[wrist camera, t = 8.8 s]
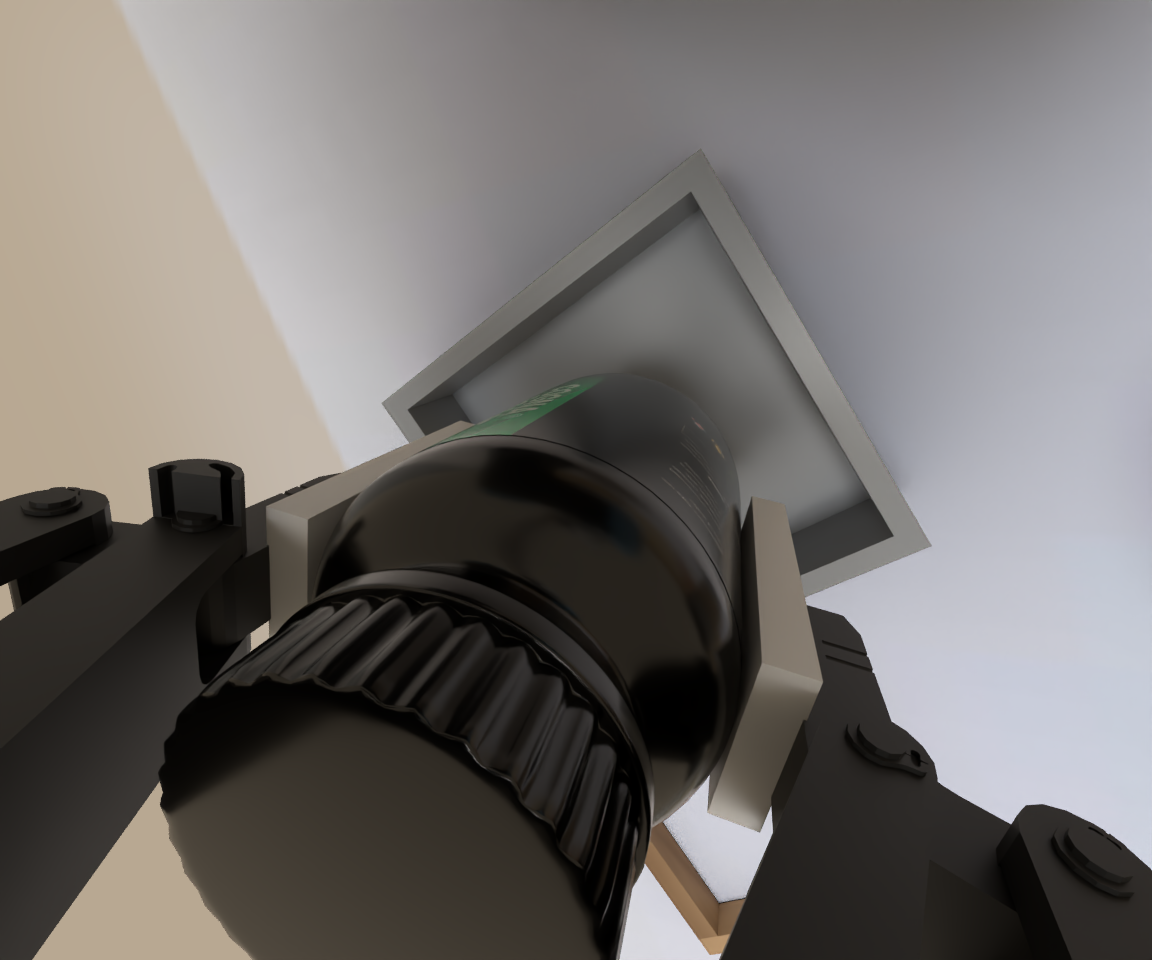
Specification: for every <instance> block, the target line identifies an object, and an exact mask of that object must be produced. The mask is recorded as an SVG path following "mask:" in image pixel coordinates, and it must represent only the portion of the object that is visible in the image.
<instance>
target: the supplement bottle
mask: <svg viewBox="0 0 1152 960" xmlns="http://www.w3.org/2000/svg"><path fill="white" fill-rule="evenodd" d="M741 672H742V590H741V499H740V487H739V479H738V474H737V470H736V466H735V462H734V460H733V457H732V454H731V451H730V449H729V447H728V445H727V443H726V441H725V439H724V437H723V436H722V434H721V432H720V431H719V429H718V428H717V426H716V425H715V424H714V422H713V421H712V420H711V419H710V417H709V416H708V415H707V414H706V413H705V412H704V411H703V410H702V409H701V408H700V407H699V406H698V405H696V404H695V403H694V402H693V401H692V400H690V399H689V398H688V397H686V396H685V395H683V394H682V393H680V392H678V391H677V390H675V389H673V388H672V387H670V386H667V385H665V384H663V383H661V382H658V381H655V380H652V379H649V378H646V377H642V376H637V375H631V374H623V373H604V374H595V375H589V376H584V377H580V378H577V379H573V380H570V381H568V382H566V383H563V384H561V385H558V386H556V387H553V388H551V389H549V390H547V391H544V392H542V393H540V394H538V395H536V396H534V397H532V398H530V399H528V400H526V401H524V402H521V403H519V404H517V405H515V406H513V407H511V408H509V409H507V410H505V411H503V412H501V413H499V414H496V415H494V416H492V417H490V418H488V419H486V420H484V421H482V422H480V423H478V424H476V425H473V426H471V427H469V428H467V429H465V430H463V431H461V432H459V433H457V434H455V435H453V436H450V437H448V438H446V439H444V440H442V441H440V442H438V443H436V444H434V445H432V446H430V447H428V448H426V449H424V450H422V451H420V452H418V453H416V454H414V455H412V456H411V457H409V458H407V459H405V460H404V461H402V462H400V463H399V464H397V465H395V466H394V467H392V468H390V469H389V470H388V471H386V472H385V473H383V474H382V475H381V476H379V477H378V478H376V479H375V480H374V481H373V482H372V483H371V484H369V485H368V486H367V487H366V488H365V489H364V490H363V491H362V492H361V493H360V494H359V495H358V496H357V497H356V499H355V500H354V501H353V502H352V503H351V505H350V506H349V507H348V508H347V509H346V511H345V512H344V514H343V515H342V517H341V518H340V520H339V522H338V523H337V525H336V526H335V528H334V530H333V532H332V534H331V536H330V538H329V540H328V542H327V544H326V547H325V549H324V552H323V555H322V558H321V560H320V563H319V566H318V570H317V574H316V578H315V582H314V587H313V593H312V601H311V602H310V603H308V604H307V605H305V606H304V607H303V608H301V609H300V610H299V611H297V612H296V613H295V614H294V615H292V616H291V617H290V618H289V619H288V620H287V621H286V622H285V623H284V624H283V625H282V626H281V627H280V629H279V630H278V631H277V633H276V634H275V635H273V636H272V637H270V638H269V639H268V640H266V641H265V642H263V643H262V644H261V645H259V646H258V647H257V648H255V649H254V650H252V651H251V652H250V653H248V654H247V655H245V656H244V657H243V658H241V659H240V660H239V661H237V662H236V663H234V664H233V665H232V666H230V667H229V668H228V669H226V670H225V671H224V672H222V673H221V674H220V675H218V676H217V677H216V678H215V679H213V680H212V681H211V682H210V683H209V684H208V685H207V686H206V687H205V688H204V689H203V690H202V691H201V693H200V694H199V695H198V696H197V697H196V698H195V699H193V700H192V701H191V702H190V703H189V704H188V705H187V706H186V707H185V708H184V709H183V710H182V711H181V712H180V713H179V714H178V716H177V719H176V725H175V730H174V731H173V732H172V734H171V735H170V736H169V737H168V738H167V739H166V740H165V741H164V758H165V763H164V764H163V765H162V766H161V768H160V769H159V771H158V776H159V780H160V783H161V787H162V791H163V794H162V797H161V802H160V806H161V809H162V811H163V813H164V815H165V817H166V820H167V822H168V824H169V839H170V841H171V842H172V844H173V845H174V847H175V849H176V851H177V852H178V854H179V856H180V857H181V861H182V864H183V868H184V872H185V874H186V875H187V876H188V878H189V879H190V881H191V882H192V883H193V884H194V886H195V887H196V888H197V889H198V891H199V893H200V896H201V898H202V900H203V902H204V905H205V906H206V907H207V909H208V910H209V911H210V912H211V913H212V914H213V915H214V916H215V917H216V918H217V919H218V920H219V921H220V922H221V924H222V926H223V928H224V929H225V931H226V932H227V934H228V935H229V937H230V938H231V939H232V940H233V941H234V942H235V943H237V944H238V945H239V946H240V947H241V948H242V949H243V950H245V951H246V952H247V953H248V955H249V956H250V957H251V959H252V960H619V958H620V953H621V947H622V942H623V936H624V931H625V925H626V920H627V914H628V909H629V903H630V898H631V892H632V888H633V886H634V885H635V883H636V881H637V880H638V878H639V876H640V874H641V873H642V870H643V868H644V864H645V860H646V857H647V852H648V848H649V843H650V837H651V829H652V828H653V827H655V826H656V825H658V824H659V823H661V822H662V821H664V820H666V819H667V818H669V817H670V816H671V815H672V814H673V813H674V812H676V811H677V810H678V809H679V808H680V807H681V806H683V805H684V804H685V803H686V802H687V801H688V800H689V799H690V798H691V797H692V796H693V794H694V793H695V792H696V791H697V790H698V789H699V788H700V787H701V786H702V784H703V783H704V782H705V780H706V779H707V777H708V776H709V775H710V773H711V772H712V770H713V769H714V767H715V766H716V765H717V763H718V761H719V759H720V757H721V755H722V753H723V751H724V749H725V747H726V745H727V742H728V739H729V737H730V734H731V731H732V728H733V726H734V722H735V717H736V713H737V708H738V702H739V692H740V682H741Z"/></svg>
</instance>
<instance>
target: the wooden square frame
mask: <svg viewBox="0 0 1152 960" xmlns="http://www.w3.org/2000/svg"><path fill="white" fill-rule="evenodd" d="M645 864H646V866H647V867H648V868H649V870H650V871H651V873H652V874H653V875H654V877H655V878H656V880H657V881H658V882H659V884H660V885H661V887H662V888H663V889H664V891H665V892H666V894H667V895H668V897H669V898H670V899H671V901H672V902H673V904H674V905H675V906H676V908H677V909H678V911H679V912H680V913H681V915H682V916H683V918H684V919H685V920H686V922H687V923H688V925H689V926H690V928H691V929H692V930H693V932H694V933H695V935H696V936H697V937H698V939H699V940H700V942H701V943H702V944H703V946H704V947H705V949H706V950H707V951H708V953H709V954H710V955H713V954H719V953H722V952H723V949H724V947H725V945H726V942H727V940H728V938H729V935H730V933H731V931H732V928H733V926H734V924H735V921H736V919H737V916H738V914H739V912H740V909H741V907H742V905H743V902H744V900H745V899H742V900H736V901H731V902H726V903H720V904H719V903H718V902H717V900H716V899H715V897H714V896H713V894H712V893H711V892H710V890H709V889H708V887H707V886H706V884H705V883H704V881H703V880H702V879H701V877H700V876H699V874H698V873H697V871H696V870H695V869H694V867H693V866H692V864H691V863H690V861H689V860H688V859H687V857H686V856H685V854H684V853H683V851H682V850H681V849H680V847H679V846H678V844H677V843H676V841H675V840H674V838H673V837H672V836H671V834H670V833H669V831H668V830H667V828H666V827H665V826H664V824H663V823H662V822H661V823H659V824H658V825H656V826H655V827H653V828H652V829H651V837H650V843H649V848H648V852H647V857H646V860H645Z"/></svg>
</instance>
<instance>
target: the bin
mask: <svg viewBox="0 0 1152 960" xmlns="http://www.w3.org/2000/svg"><path fill="white" fill-rule="evenodd" d="M604 373H623V374H631V375H637V376H642V377H646V378H649V379H652V380H655V381H658V382H661V383H663V384H665V385H667V386H670V387H672V388H673V389H675V390H677V391H678V392H680V393H682V394H683V395H685V396H686V397H688V398H689V399H690V400H692V401H693V402H694V403H695V404H696V405H698V406H699V407H700V408H701V409H702V410H703V411H704V412H705V413H706V414H707V415H708V416H709V417H710V419H711V420H712V421H713V422H714V424H715V425H716V426H717V428H718V429H719V431H720V432H721V434H722V436H723V437H724V439H725V441H726V443H727V445H728V447H729V449H730V451H731V454H732V457H733V460H734V462H735V466H736V470H737V474H738V479H739V487H740V499H741V529H742V526H743V523H744V520H745V517H746V513H747V510H748V507H749V504H750V501H751V498H752V496H754V497H758V498H762V499H766V500H770V501H774V502H778V503H781V504H785V508H786V513H787V517H788V522H789V527H790V531H791V536H792V540H793V545H794V550H795V554H796V559H797V564H798V568H799V573H800V577H801V582H802V587H803V591H804V596H805V597H807V596H809V595H812V594H814V593H817V592H819V591H822V590H824V589H826V588H829V587H831V586H834V585H836V584H839V583H841V582H844V581H846V580H849V579H851V578H854V577H856V576H859V575H861V574H864V573H866V572H868V571H871V570H873V569H876V568H878V567H881V566H883V565H886V564H888V563H891V562H893V561H896V560H898V559H901V558H903V557H906V556H908V555H910V554H913V553H915V552H918V551H920V550H923V549H925V548H928V547H930V546H931V544H930V542H929V540H928V539H927V537H926V535H925V534H924V532H923V530H922V528H921V527H920V525H919V523H918V522H917V520H916V518H915V516H914V515H913V513H912V511H911V509H910V508H909V506H908V504H907V503H906V501H905V499H904V497H903V496H902V494H901V492H900V491H899V489H898V487H897V485H896V484H895V482H894V480H893V479H892V477H891V475H890V473H889V472H888V470H887V468H886V466H885V465H884V463H883V461H882V460H881V458H880V456H879V454H878V453H877V451H876V449H875V448H874V446H873V444H872V442H871V441H870V439H869V437H868V436H867V434H866V432H865V430H864V429H863V427H862V425H861V423H860V422H859V420H858V418H857V417H856V415H855V413H854V411H853V410H852V408H851V406H850V405H849V403H848V401H847V399H846V398H845V396H844V394H843V392H842V391H841V389H840V387H839V386H838V384H837V382H836V380H835V379H834V377H833V375H832V374H831V372H830V370H829V368H828V367H827V365H826V363H825V362H824V360H823V358H822V356H821V355H820V353H819V351H818V349H817V348H816V346H815V344H814V343H813V341H812V339H811V337H810V336H809V334H808V332H807V331H806V329H805V327H804V325H803V324H802V322H801V320H800V318H799V317H798V315H797V313H796V312H795V310H794V308H793V306H792V305H791V303H790V301H789V300H788V298H787V296H786V294H785V293H784V291H783V289H782V288H781V286H780V284H779V282H778V281H777V279H776V277H775V275H774V274H773V272H772V270H771V269H770V267H769V265H768V263H767V262H766V260H765V258H764V257H763V255H762V253H761V251H760V250H759V248H758V246H757V244H756V243H755V241H754V239H753V238H752V236H751V234H750V232H749V231H748V229H747V227H746V226H745V224H744V222H743V220H742V219H741V217H740V215H739V214H738V212H737V210H736V208H735V207H734V205H733V203H732V201H731V200H730V198H729V196H728V195H727V193H726V191H725V189H724V188H723V186H722V184H721V183H720V181H719V179H718V177H717V176H716V174H715V172H714V170H713V169H712V167H711V165H710V164H709V162H708V160H707V158H706V157H705V155H704V153H703V152H702V150H701V149H699V150H698V151H697V152H696V153H694V154H693V155H692V156H691V157H689V158H688V159H687V160H686V161H684V162H683V163H682V164H681V165H679V166H678V167H677V168H676V169H674V170H673V171H672V172H671V173H669V174H668V175H667V176H666V177H664V178H663V179H662V180H661V181H659V182H658V183H657V184H656V185H654V186H653V187H652V188H650V189H649V190H648V191H647V192H645V193H644V194H643V195H642V196H640V197H639V198H638V199H637V200H635V201H634V202H633V203H632V204H630V205H629V206H628V207H627V208H625V209H624V210H623V211H622V212H620V213H619V214H618V215H617V216H615V217H614V218H613V219H612V220H610V221H609V222H608V223H607V224H605V225H604V226H603V227H602V228H600V229H599V230H598V231H597V232H595V233H594V234H593V235H592V236H590V237H589V238H588V239H587V240H585V241H584V242H583V243H582V244H580V245H579V246H578V247H577V248H575V249H574V250H573V251H572V252H570V253H569V254H568V255H567V256H565V257H564V258H563V259H562V260H560V261H559V262H558V263H557V264H555V265H554V266H553V267H552V268H550V269H549V270H548V271H547V272H545V273H544V274H543V275H542V276H540V277H539V278H538V279H537V280H535V281H534V282H533V283H532V284H530V285H529V286H528V287H527V288H525V289H524V290H523V291H521V292H520V293H519V294H518V295H516V296H515V297H514V298H513V299H511V300H510V301H509V302H508V303H506V304H505V305H504V306H503V307H501V308H500V309H499V310H498V311H496V312H495V313H494V314H493V315H491V316H490V317H489V318H488V319H486V320H485V321H484V322H483V323H481V324H480V325H479V326H478V327H476V328H475V329H474V330H473V331H471V332H470V333H469V334H468V335H466V336H465V337H464V338H463V339H461V340H460V341H459V342H458V343H456V344H455V345H454V346H453V347H451V348H450V349H449V350H448V351H446V352H445V353H444V354H443V355H441V356H440V357H439V358H438V359H436V360H435V361H434V362H433V363H431V364H430V365H429V366H428V367H426V368H425V369H424V370H423V371H421V372H420V373H419V374H418V375H416V376H415V377H414V378H413V379H411V380H410V381H409V382H408V383H406V384H405V385H404V386H403V387H401V388H400V389H399V390H398V391H396V392H395V393H394V394H392V395H391V396H390V397H389V398H387V399H386V400H385V401H384V402H382V404H383V406H384V407H385V409H386V410H387V412H388V413H389V414H390V416H391V417H392V419H393V420H394V422H395V423H396V425H397V426H398V427H399V429H400V430H401V432H402V433H403V435H404V436H405V437H406V439H407V440H408V442H409V443H411V442H413V441H415V440H418V439H420V438H422V437H424V436H427V435H429V434H431V433H433V432H436V431H438V430H440V429H443V428H445V427H447V426H449V425H452V424H454V423H456V422H458V421H464V422H468V423H471V424H475V425H476V424H478V423H480V422H482V421H484V420H486V419H488V418H490V417H492V416H494V415H496V414H499V413H501V412H503V411H505V410H507V409H509V408H511V407H513V406H515V405H517V404H519V403H521V402H524V401H526V400H528V399H530V398H532V397H534V396H536V395H538V394H540V393H542V392H544V391H547V390H549V389H551V388H553V387H556V386H558V385H561V384H563V383H566V382H568V381H570V380H573V379H577V378H580V377H584V376H589V375H595V374H604Z"/></svg>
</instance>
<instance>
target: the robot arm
mask: <svg viewBox="0 0 1152 960" xmlns="http://www.w3.org/2000/svg"><path fill="white" fill-rule="evenodd" d="M473 425H475V424H471V423H468V422H464V421H458V422H456V423H454V424H452V425H449V426H447V427H445V428H443V429H440V430H438V431H436V432H433V433H431V434H429V435H427V436H424V437H422V438H420V439H418V440H415V441H413V442H411V443H409V444H406V445H404V446H402V447H399V448H397V449H395V450H393V451H390V452H388V453H386V454H384V455H381V456H379V457H377V458H375V459H372V460H370V461H368V462H365V463H363V464H361V465H359V466H356V467H354V468H352V469H350V470H347V471H345V472H343V473H338V474H333V475H327V476H322V477H318V478H316V479H313V480H311V481H309V482H306V483H304V484H302V485H300V487H295V488H292V489H290V490H288V491H285V493H284V494H282V493H281V494H278V495H276V496H274V497H271V498H269V499H266V500H264V501H262V502H259V503H257V504H255V505H252V506H250V507H248V508H245V487H244V473H243V471H242V469H241V468H240V467H238V466H236V465H234V464H232V463H228V462H224V461H219V460H210V459H187V460H177V461H171V462H166V463H161V464H159V465H156V466H153V467H151V468H149V479H150V488H151V498H152V507H153V517H152V518H151V519H149V520H148V521H147V522H145V523H143V524H142V525H139V524H130V523H120V522H113V521H112V520H111V512H110V505H109V501H108V499H107V497H106V496H105V495H103V494H101V493H98V492H96V491H92V490H84V489H80V488H76V487H75V488H74V487H68V488H67V489H66V488H65V487H55V488H51V489H49V490H43V491H36V492H32V493H28V494H24V495H19V496H16V497H13V498H9V499H6V500H3V501H0V586H2V585H4V584H6V583H8V585H9V589H10V594H11V599H12V603H13V607H14V612H12V613H11V614H9V615H8V616H6V617H5V618H3V619H2V620H1V621H0V960H32V959H33V958H34V956H35V955H36V953H37V952H38V951H39V949H40V948H41V946H42V945H43V944H44V942H45V941H46V939H47V938H48V937H49V935H50V934H51V932H52V931H53V930H54V928H55V927H56V925H57V924H58V923H59V921H60V920H61V918H62V917H63V916H64V914H65V913H66V911H67V910H68V909H69V907H70V906H71V905H72V903H73V902H74V900H75V899H76V898H77V896H78V895H79V893H80V892H81V891H82V889H83V888H84V886H85V885H86V884H87V882H88V881H89V879H90V878H91V877H92V875H93V874H94V872H95V871H96V869H97V868H98V867H99V865H100V864H101V862H102V861H103V860H104V858H105V857H106V856H107V854H108V853H109V851H110V850H111V849H112V847H113V845H114V844H115V843H116V842H117V840H118V839H119V837H120V836H121V835H122V833H123V832H124V830H125V829H126V828H127V826H128V825H129V823H130V822H131V821H132V819H133V818H134V816H135V815H136V814H137V812H138V811H139V809H140V808H141V807H142V805H143V804H144V802H145V801H146V800H147V798H148V797H149V795H150V794H151V793H152V791H153V790H154V788H155V787H156V786H157V784H158V783H159V781H160V780H159V776H158V771H159V769H160V768H161V766H162V765H163V764H164V763H165V758H164V741H165V740H166V739H167V738H168V737H169V736H170V735H171V734H172V732H173V731H174V730H175V725H176V719H177V716H178V714H179V713H180V712H181V711H182V710H183V709H184V708H185V707H186V706H187V705H188V704H189V703H190V702H191V701H192V700H193V699H195V698H196V697H197V696H198V695H199V694H200V693H201V691H202V690H203V689H204V688H205V687H206V686H207V685H208V684H209V683H210V682H211V681H212V680H213V679H215V678H216V677H217V676H218V675H220V674H221V673H222V672H224V671H225V670H226V669H228V668H229V667H230V666H232V665H233V664H234V663H236V662H237V661H239V660H240V659H241V658H243V657H244V656H245V655H247V654H248V653H250V650H251V636H250V635H251V634H250V633H251V632H253V631H254V630H256V629H257V628H259V627H260V626H261V625H263V624H264V623H266V622H267V621H269V638H270V637H272V636H273V635H275V634H276V633H277V631H278V630H279V629H280V627H281V626H282V625H283V624H284V623H285V622H286V621H287V620H288V619H289V618H290V617H291V616H292V615H294V614H295V613H296V612H297V611H299V610H300V609H301V608H303V607H304V606H305V605H307V604H308V603H310V602H311V601H312V593H313V587H314V582H315V578H316V574H317V570H318V566H319V563H320V560H321V558H322V555H323V552H324V549H325V547H326V544H327V542H328V540H329V538H330V536H331V534H332V532H333V530H334V528H335V526H336V525H337V523H338V522H339V520H340V518H341V517H342V515H343V514H344V512H345V511H346V509H347V508H348V507H349V506H350V505H351V503H352V502H353V501H354V500H355V499H356V497H357V496H358V495H359V494H360V493H361V492H362V491H363V490H364V489H365V488H366V487H367V486H368V485H369V484H371V483H372V482H373V481H374V480H375V479H376V478H378V477H379V476H381V475H382V474H383V473H385V472H386V471H388V470H389V469H390V468H392V467H394V466H395V465H397V464H399V463H400V462H402V461H404V460H405V459H407V458H409V457H411V456H412V455H414V454H416V453H418V452H420V451H422V450H424V449H426V448H428V447H430V446H432V445H434V444H436V443H438V442H440V441H442V440H444V439H446V438H448V437H450V436H453V435H455V434H457V433H459V432H461V431H463V430H465V429H467V428H469V427H471V426H473ZM741 590H742V672H741V682H740V692H739V702H738V708H737V713H736V717H735V722H734V726H733V728H732V731H731V734H730V737H729V739H728V742H727V745H726V747H725V749H724V751H723V753H722V755H721V757H720V759H719V761H718V763H717V765H716V766H715V767H714V769H713V770H712V772H711V773H710V780H709V796H708V811H707V813H709V814H712V815H715V816H717V817H720V818H723V819H725V820H728V821H731V822H733V823H736V824H739V825H741V826H744V827H747V828H749V829H752V830H755V831H757V832H760V831H761V829H762V826H763V824H764V822H765V819H766V817H767V814H768V812H769V810H770V807H771V806H772V822H773V834H772V837H771V839H770V841H769V844H768V846H767V848H766V851H765V853H764V855H763V858H762V860H761V862H760V864H759V867H758V869H757V871H756V874H755V876H754V878H753V881H752V883H751V885H750V888H749V890H748V893H747V895H746V898H745V900H744V902H743V905H742V907H741V909H740V912H739V914H738V916H737V919H736V921H735V924H734V926H733V928H732V931H731V933H730V935H729V938H728V940H727V942H726V945H725V947H724V949H723V952H722V954H721V957H720V959H719V960H1152V870H1151V869H1150V868H1149V867H1148V866H1147V865H1146V864H1145V863H1143V862H1142V861H1141V860H1140V859H1139V858H1138V857H1137V856H1136V855H1135V854H1133V853H1132V852H1131V851H1130V850H1129V849H1128V848H1127V847H1126V846H1125V845H1124V844H1123V843H1121V842H1120V841H1119V840H1117V839H1116V838H1115V837H1113V836H1112V835H1111V834H1107V833H1106V831H1104V830H1103V829H1101V828H1099V827H1098V826H1096V825H1094V824H1093V823H1091V822H1088V821H1086V820H1084V819H1082V818H1080V817H1078V816H1076V815H1074V814H1072V813H1070V812H1068V811H1065V810H1062V809H1058V808H1054V807H1051V806H1047V805H1044V804H1039V805H1026V806H1025V807H1024V808H1023V809H1022V810H1021V811H1020V813H1019V814H1018V815H1017V816H1016V818H1015V820H1014V821H1013V823H1012V824H1009V823H1007V822H1005V821H1004V820H1002V819H1000V818H998V817H996V816H995V815H993V814H991V813H989V812H987V811H985V810H984V809H982V808H980V807H978V806H976V805H974V804H973V803H971V802H969V801H967V800H965V799H964V798H962V797H960V796H958V795H957V794H955V793H954V792H952V791H950V790H949V789H947V788H946V787H944V786H942V785H941V784H940V783H938V782H937V779H938V778H937V774H936V769H935V765H934V762H933V761H932V759H931V758H930V756H929V755H928V753H927V752H926V750H925V749H924V748H923V746H922V745H921V744H920V743H919V742H917V741H916V740H915V739H914V738H913V737H912V736H911V735H910V734H909V733H908V732H907V731H905V730H904V729H902V728H901V727H899V726H898V725H896V724H894V723H893V722H891V719H890V716H889V713H888V711H887V708H886V705H885V702H884V699H883V697H882V694H881V691H880V688H879V685H878V683H877V680H876V677H875V674H874V673H872V670H873V669H872V666H871V663H870V660H869V657H867V652H866V649H865V646H864V643H863V641H862V638H861V635H860V634H859V633H858V632H857V631H856V630H855V628H854V627H853V626H852V625H851V624H850V623H849V622H848V621H847V620H846V619H845V617H844V616H842V615H839V614H835V613H832V612H828V611H825V610H821V609H818V608H815V607H811V606H808V605H806V601H805V596H804V591H803V587H802V582H801V577H800V573H799V568H798V564H797V559H796V554H795V550H794V545H793V540H792V536H791V531H790V527H789V522H788V517H787V513H786V508H785V504H781V503H778V502H774V501H770V500H766V499H762V498H758V497H754V496H752V498H751V501H750V504H749V507H748V510H747V513H746V517H745V520H744V523H743V526H742V529H741Z"/></svg>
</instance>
